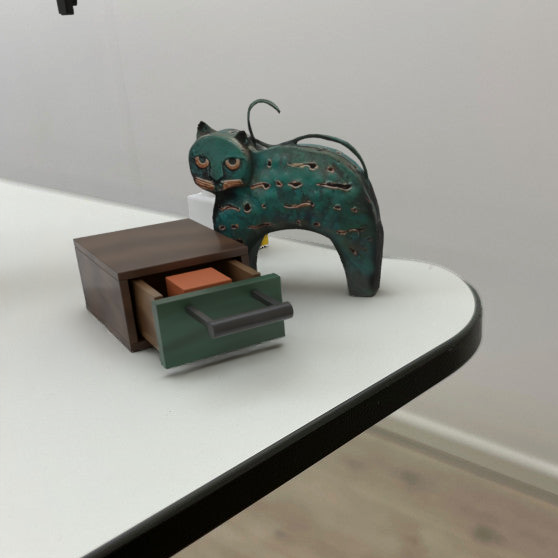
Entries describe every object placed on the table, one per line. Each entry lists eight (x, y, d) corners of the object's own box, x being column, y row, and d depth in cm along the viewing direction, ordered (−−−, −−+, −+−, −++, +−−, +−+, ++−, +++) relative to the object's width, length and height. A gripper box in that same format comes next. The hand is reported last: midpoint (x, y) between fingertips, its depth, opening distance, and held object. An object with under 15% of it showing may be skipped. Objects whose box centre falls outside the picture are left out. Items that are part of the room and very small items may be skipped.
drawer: (320, 358, 65) (316, 294, 63) (195, 396, 59) (185, 327, 57) (223, 297, 80) (217, 243, 78) (116, 323, 74) (105, 265, 72)
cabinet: (255, 320, 76) (247, 246, 73) (131, 352, 70) (117, 273, 67) (197, 283, 87) (189, 217, 84) (86, 308, 81) (72, 238, 78)
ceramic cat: (201, 292, 84) (176, 102, 76) (225, 274, 90) (205, 95, 82) (376, 303, 79) (370, 100, 71) (390, 282, 85) (386, 93, 77)
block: (190, 338, 67) (183, 289, 65) (171, 323, 71) (164, 276, 69) (237, 326, 69) (232, 278, 68) (216, 312, 73) (211, 266, 71)
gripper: (-144, -225, 59) (-82, 20, 66) (84, -202, 67) (117, 13, 74) (-149, -202, 64) (-91, 21, 71) (62, -183, 73) (94, 14, 80)
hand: (15, 16), depth 73 cm, fingers open, 9 cm apart
